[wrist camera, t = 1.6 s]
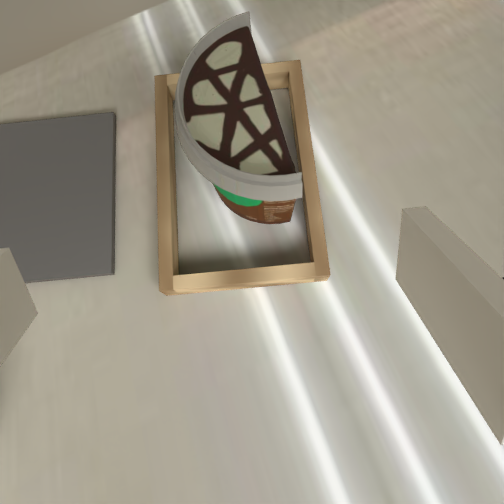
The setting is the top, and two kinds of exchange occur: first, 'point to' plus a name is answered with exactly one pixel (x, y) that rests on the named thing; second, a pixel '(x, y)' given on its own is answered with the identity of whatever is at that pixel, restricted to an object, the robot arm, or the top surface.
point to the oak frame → (169, 277)
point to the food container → (235, 125)
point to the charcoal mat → (59, 196)
